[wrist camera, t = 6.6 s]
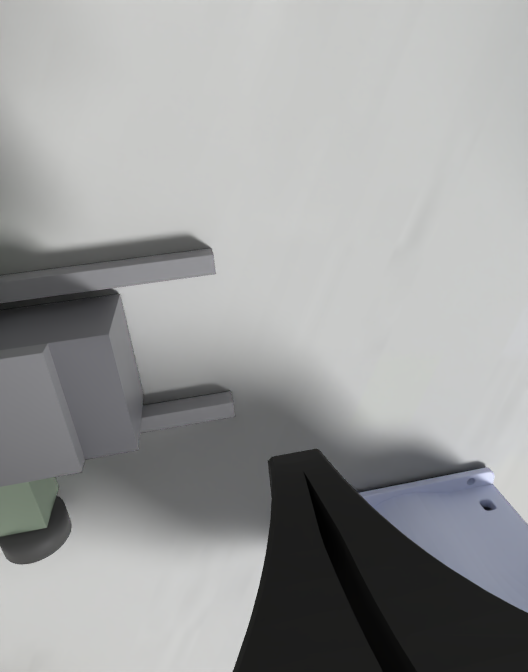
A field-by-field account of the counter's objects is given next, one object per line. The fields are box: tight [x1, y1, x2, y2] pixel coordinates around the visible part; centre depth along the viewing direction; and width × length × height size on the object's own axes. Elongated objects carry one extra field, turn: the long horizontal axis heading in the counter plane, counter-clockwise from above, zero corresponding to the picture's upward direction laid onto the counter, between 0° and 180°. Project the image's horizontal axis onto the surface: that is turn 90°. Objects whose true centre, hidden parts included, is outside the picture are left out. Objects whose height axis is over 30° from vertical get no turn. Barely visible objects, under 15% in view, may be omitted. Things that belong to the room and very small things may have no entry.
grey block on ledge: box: [0, 294, 144, 487], centre depth 18 cm, size 5×5×5 cm
